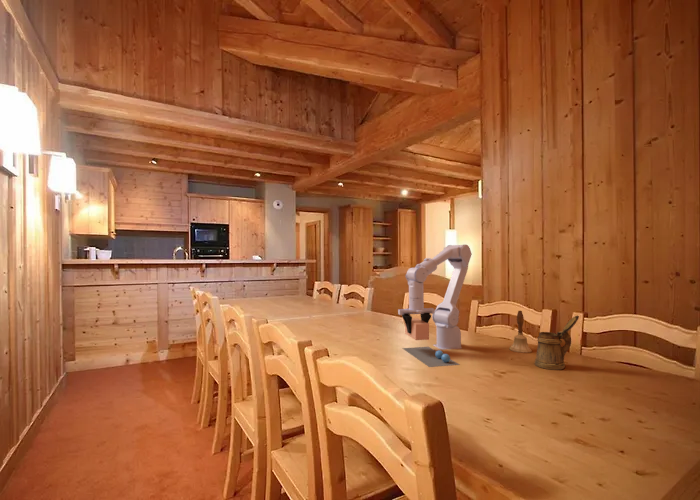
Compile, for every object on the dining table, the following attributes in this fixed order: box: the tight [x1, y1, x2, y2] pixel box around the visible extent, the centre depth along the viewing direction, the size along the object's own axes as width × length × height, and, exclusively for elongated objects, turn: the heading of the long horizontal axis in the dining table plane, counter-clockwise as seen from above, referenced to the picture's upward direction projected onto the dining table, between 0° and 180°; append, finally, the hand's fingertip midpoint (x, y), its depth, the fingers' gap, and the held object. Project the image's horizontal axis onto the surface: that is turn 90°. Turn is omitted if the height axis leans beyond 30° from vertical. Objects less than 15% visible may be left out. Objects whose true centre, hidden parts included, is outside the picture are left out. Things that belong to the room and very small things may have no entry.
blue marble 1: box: [435, 349, 445, 359], centre depth 130 cm, size 3×3×3 cm
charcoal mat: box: [402, 346, 461, 368], centre depth 133 cm, size 12×26×1 cm, turn 12°
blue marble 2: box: [441, 353, 451, 363], centre depth 125 cm, size 3×3×3 cm
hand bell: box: [509, 310, 533, 354], centre depth 144 cm, size 8×8×16 cm
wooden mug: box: [534, 315, 580, 371], centre depth 121 cm, size 9×14×18 cm, turn 68°
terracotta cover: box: [404, 317, 430, 341], centre depth 139 cm, size 5×11×6 cm, turn 12°
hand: (416, 332), depth 139 cm, fingers closed on terracotta cover, 5 cm apart
